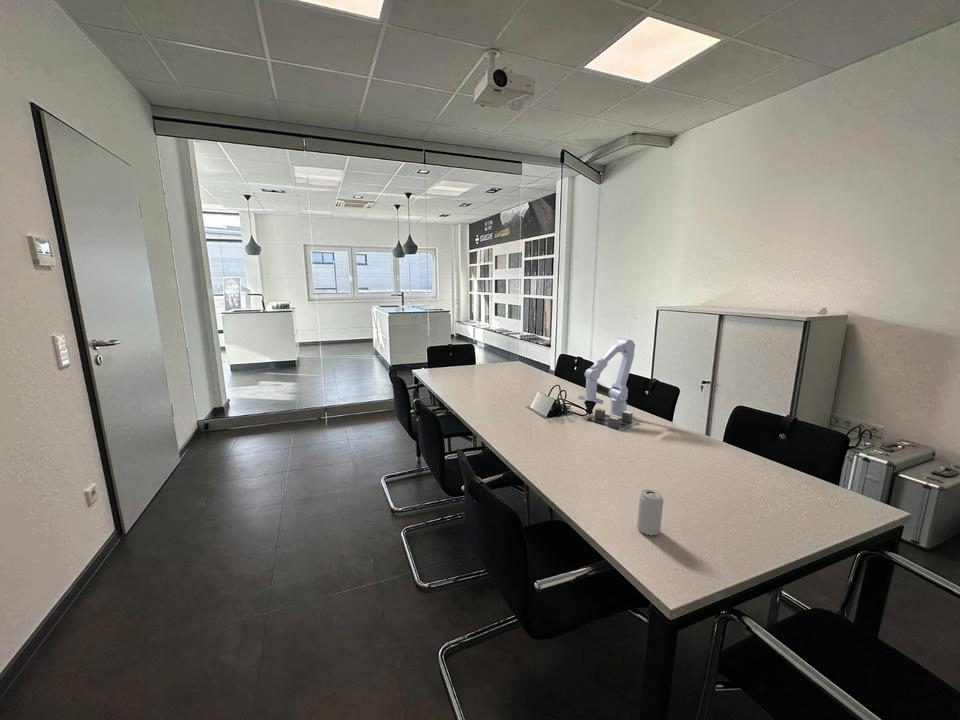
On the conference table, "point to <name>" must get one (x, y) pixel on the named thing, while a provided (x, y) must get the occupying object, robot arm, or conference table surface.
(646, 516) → the beverage can
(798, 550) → the conference table surface
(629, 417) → the breaker
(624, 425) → the panel
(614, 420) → the block
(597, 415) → the breaker
